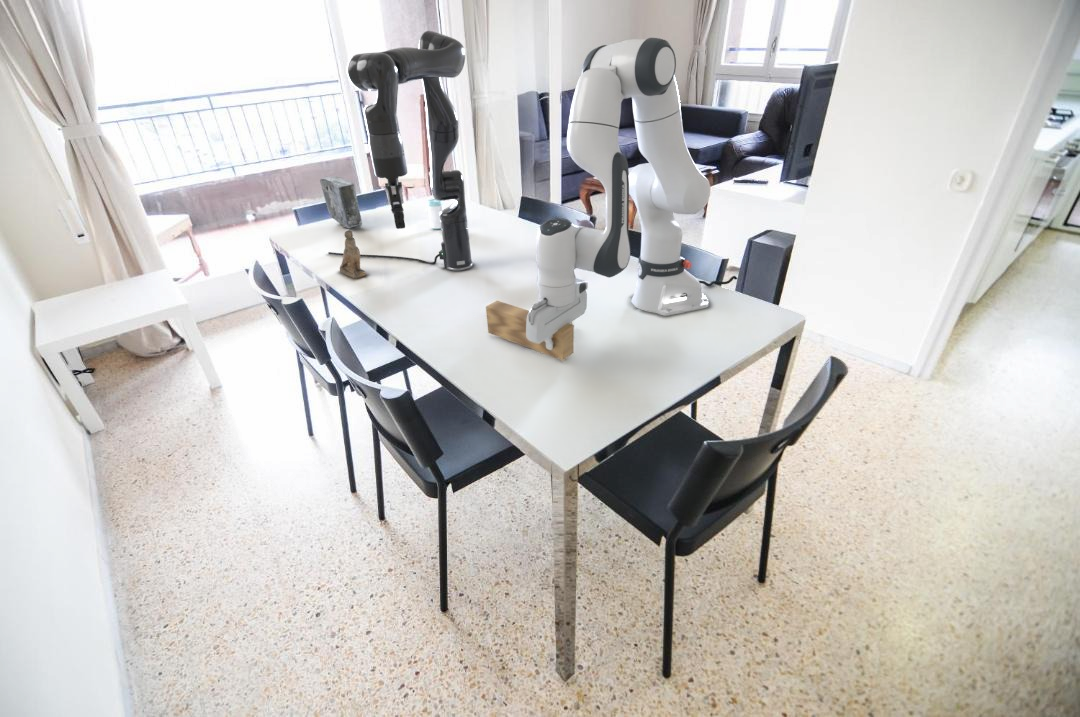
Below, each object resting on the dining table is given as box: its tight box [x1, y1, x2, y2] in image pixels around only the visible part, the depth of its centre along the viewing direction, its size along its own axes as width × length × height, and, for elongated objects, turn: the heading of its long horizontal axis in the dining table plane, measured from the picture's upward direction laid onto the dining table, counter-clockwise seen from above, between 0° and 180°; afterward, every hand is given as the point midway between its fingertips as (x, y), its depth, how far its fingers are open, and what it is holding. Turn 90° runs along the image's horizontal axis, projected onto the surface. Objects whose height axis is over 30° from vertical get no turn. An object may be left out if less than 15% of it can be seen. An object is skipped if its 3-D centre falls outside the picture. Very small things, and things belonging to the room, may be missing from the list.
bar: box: [485, 300, 575, 361], centre depth 127 cm, size 25×4×8 cm, turn 52°
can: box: [426, 198, 445, 230], centre depth 220 cm, size 7×7×12 cm
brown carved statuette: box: [339, 229, 367, 280], centre depth 174 cm, size 12×6×18 cm, turn 43°
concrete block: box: [319, 175, 363, 229], centre depth 226 cm, size 27×9×20 cm, turn 36°
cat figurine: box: [575, 218, 595, 229], centre depth 187 cm, size 8×8×12 cm
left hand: (400, 223), depth 124 cm, fingers open, 8 cm apart
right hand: (557, 343), depth 122 cm, fingers closed on bar, 4 cm apart
